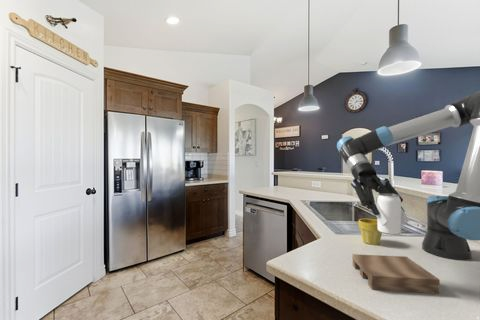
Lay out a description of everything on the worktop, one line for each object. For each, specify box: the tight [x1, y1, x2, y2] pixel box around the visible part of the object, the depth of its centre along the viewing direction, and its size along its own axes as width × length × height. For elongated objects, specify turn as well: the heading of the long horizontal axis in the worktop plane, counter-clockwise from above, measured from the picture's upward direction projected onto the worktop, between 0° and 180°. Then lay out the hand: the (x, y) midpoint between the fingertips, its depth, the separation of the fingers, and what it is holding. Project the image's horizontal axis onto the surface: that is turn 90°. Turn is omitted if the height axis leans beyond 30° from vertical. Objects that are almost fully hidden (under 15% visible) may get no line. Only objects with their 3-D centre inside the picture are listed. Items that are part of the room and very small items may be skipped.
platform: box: [352, 253, 441, 294], centre depth 76 cm, size 18×16×4 cm
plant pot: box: [358, 218, 383, 246], centre depth 108 cm, size 10×10×10 cm
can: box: [376, 193, 402, 236], centre depth 76 cm, size 6×6×12 cm
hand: (395, 222), depth 73 cm, fingers closed on can, 6 cm apart
